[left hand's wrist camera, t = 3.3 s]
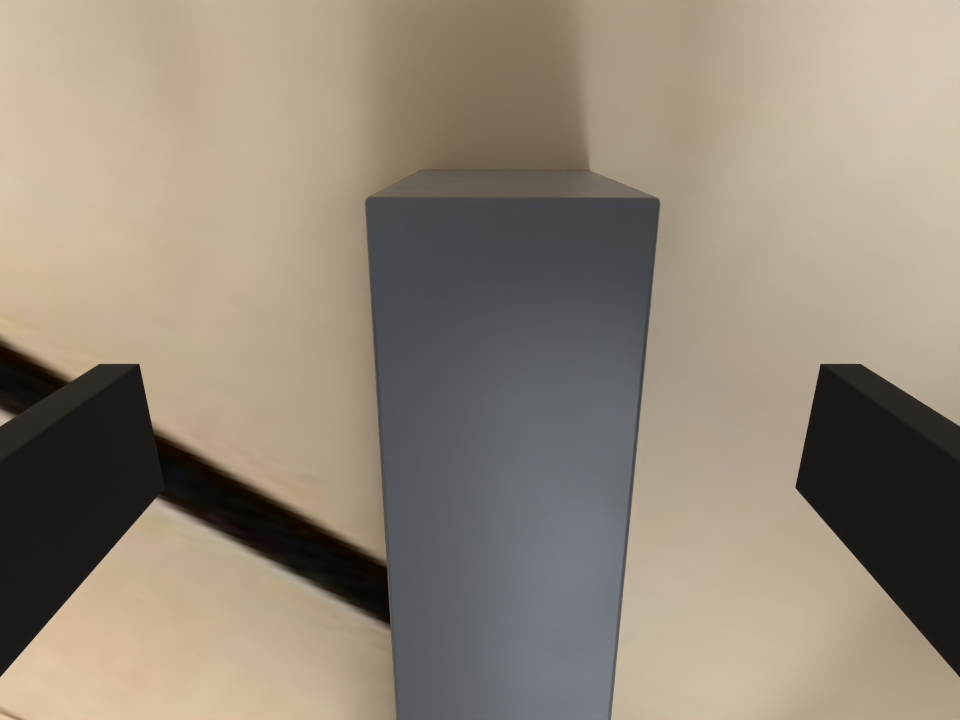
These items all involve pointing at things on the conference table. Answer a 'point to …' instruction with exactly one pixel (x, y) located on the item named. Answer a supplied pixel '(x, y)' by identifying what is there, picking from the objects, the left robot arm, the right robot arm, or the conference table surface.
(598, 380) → the beam
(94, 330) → the conference table surface
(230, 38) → the conference table surface
